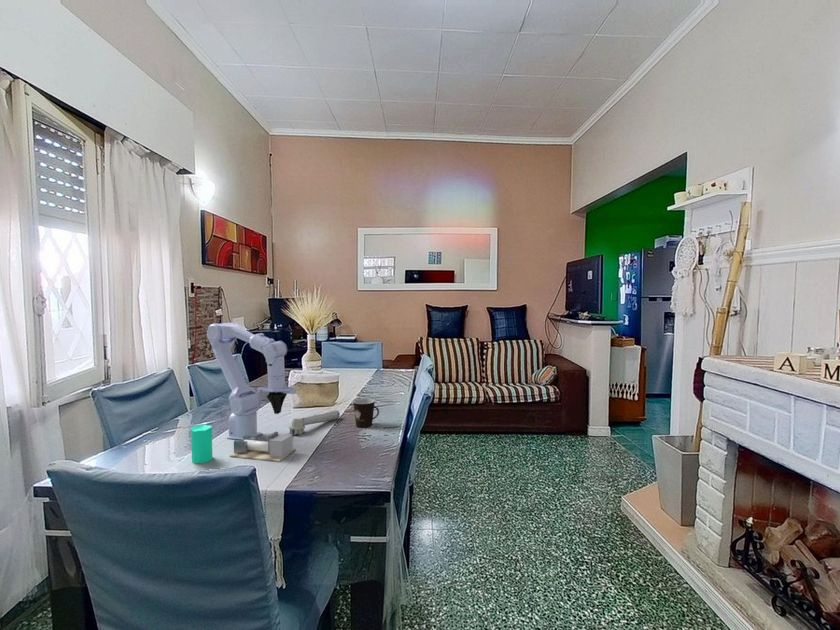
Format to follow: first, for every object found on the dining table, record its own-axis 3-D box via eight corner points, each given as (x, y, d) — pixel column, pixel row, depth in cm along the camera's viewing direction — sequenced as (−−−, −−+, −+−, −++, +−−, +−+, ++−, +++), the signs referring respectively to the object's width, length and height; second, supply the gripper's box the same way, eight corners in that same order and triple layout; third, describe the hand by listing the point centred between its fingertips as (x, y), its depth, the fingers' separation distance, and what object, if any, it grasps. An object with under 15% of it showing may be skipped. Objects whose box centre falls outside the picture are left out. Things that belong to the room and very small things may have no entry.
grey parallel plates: (233, 452, 135) (233, 441, 135) (245, 446, 141) (245, 435, 140) (245, 454, 134) (245, 442, 134) (256, 447, 140) (256, 436, 139)
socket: (269, 456, 131) (269, 440, 131) (281, 449, 138) (280, 433, 137) (281, 458, 130) (281, 441, 130) (292, 450, 137) (292, 434, 136)
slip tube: (241, 451, 135) (240, 433, 135) (248, 447, 139) (248, 429, 139) (278, 455, 132) (278, 436, 132) (285, 450, 136) (285, 432, 136)
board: (229, 456, 133) (229, 455, 133) (249, 445, 143) (249, 444, 143) (278, 462, 129) (278, 460, 129) (295, 450, 138) (295, 448, 138)
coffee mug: (350, 424, 166) (350, 399, 166) (370, 421, 170) (370, 397, 170) (359, 432, 156) (359, 406, 156) (380, 429, 160) (380, 404, 160)
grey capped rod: (341, 410, 173) (296, 417, 152) (340, 426, 173) (295, 435, 151) (332, 408, 176) (286, 415, 154) (330, 424, 175) (285, 433, 154)
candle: (189, 459, 131) (188, 422, 130) (209, 454, 135) (208, 418, 134) (194, 465, 126) (193, 427, 126) (215, 459, 131) (214, 422, 130)
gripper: (251, 377, 143) (252, 415, 144) (288, 378, 140) (289, 417, 140) (263, 373, 150) (265, 409, 151) (298, 374, 147) (300, 411, 147)
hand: (277, 413), depth 146 cm, fingers closed
